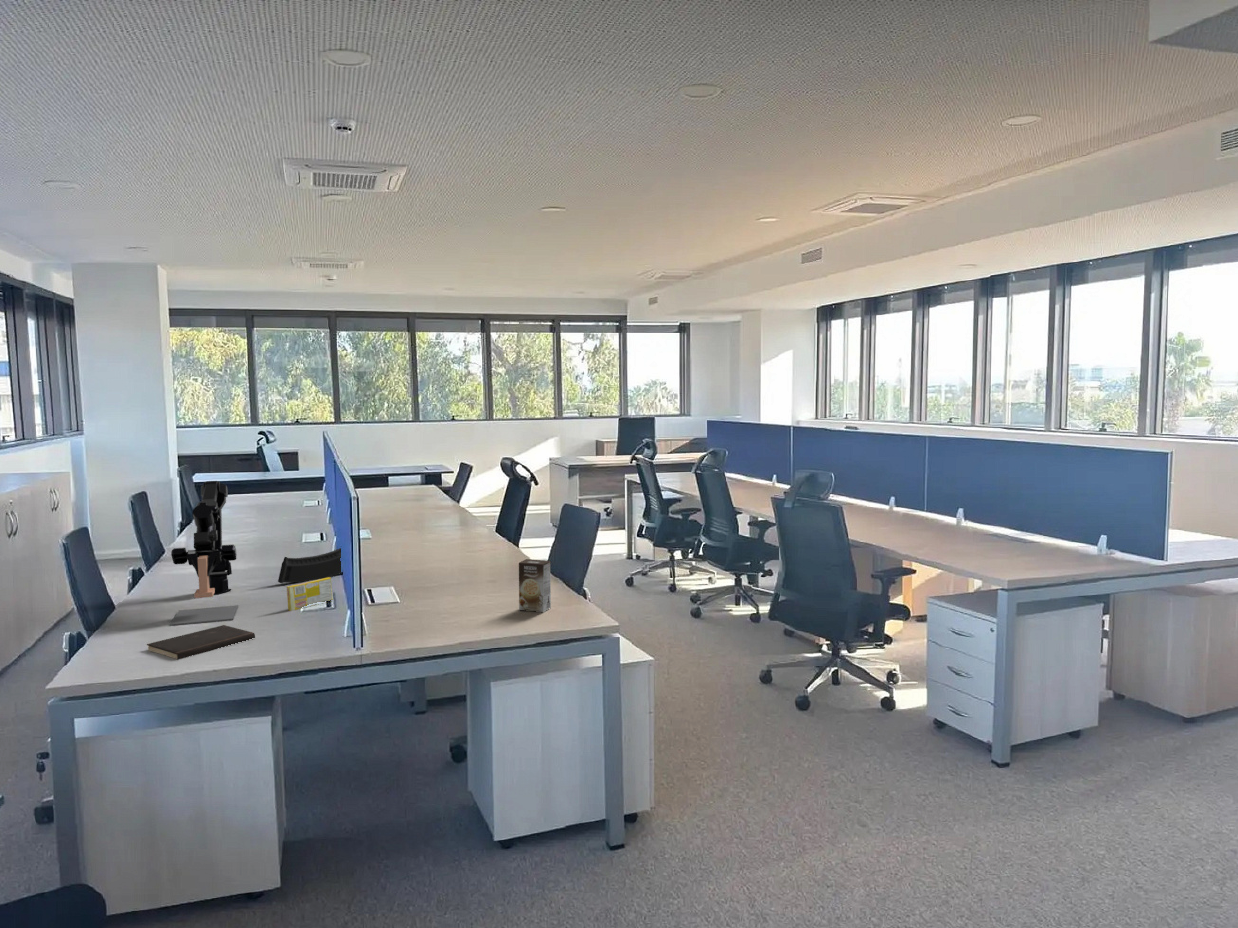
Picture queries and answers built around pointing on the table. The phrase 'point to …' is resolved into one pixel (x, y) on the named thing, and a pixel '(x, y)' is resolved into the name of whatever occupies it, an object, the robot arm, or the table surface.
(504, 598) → the table surface
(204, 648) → the hardcover book
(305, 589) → the candy box
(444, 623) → the table surface
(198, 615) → the mat
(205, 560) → the pink block bookend
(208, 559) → the robot arm
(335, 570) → the magazine
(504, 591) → the table surface
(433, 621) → the table surface
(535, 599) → the coffee box
